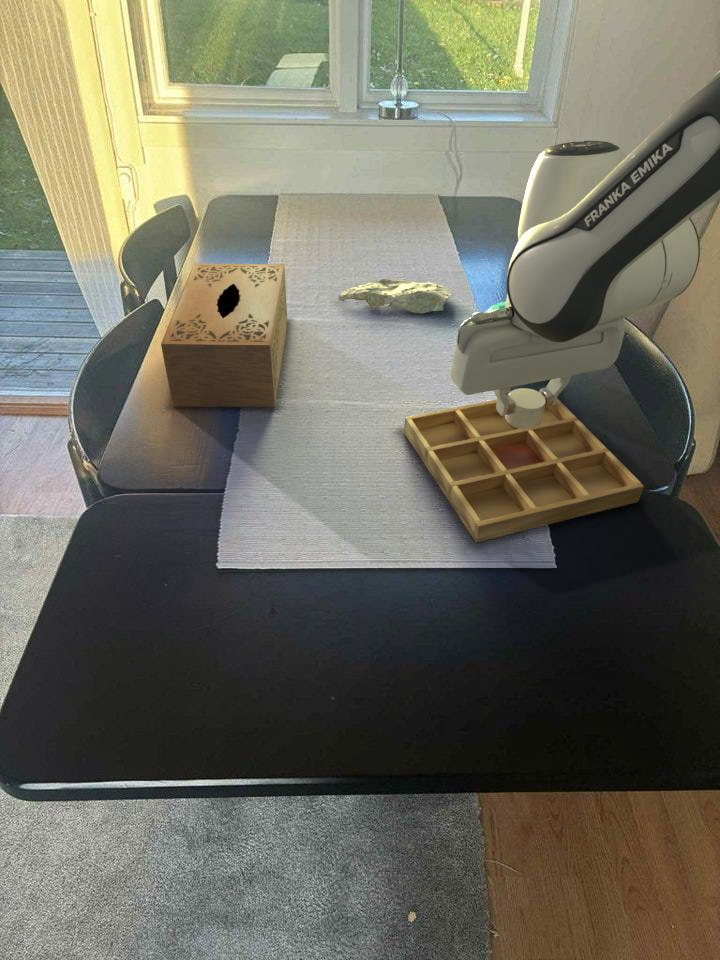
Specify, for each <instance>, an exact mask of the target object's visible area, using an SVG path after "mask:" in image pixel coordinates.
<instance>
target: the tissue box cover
mask: <svg viewBox="0 0 720 960" xmlns="http://www.w3.org/2000/svg"><path fill="white" fill-rule="evenodd" d="M286 287H287V286H286V268H285V264H284V263H225V262H224V263H222V262H221V263H220V262H219V263H218V262H217V263H216V262H215V263H214V262H211V263H210V262H194V263H193V265H192V267H191V269H190V272H189V274H188V277H187V280H186V282H185V284H184V287H183V289H182V292H181V294H180V297H179V299H178V301H177V303H176V306H175V308H174V311H173V314H172V316H171V318H170V321H169V324H168V326H167V328H166V331H165V333H164V336H163V338H162V341H161V343H160V347H161V352H162V357H163V362H164V367H165V373H166V378H167V382H168V389H169V395H170V399H171V404H172V407H175V408H176V407H177V408H180V407H182V408H185V407H186V408H187V407H188V408H192V407H193V408H276V405H277V398H278V397H277V396H278V391H279V390H278V389H279V382H280V377H281V369H282V362H283V355H284V348H285V341H286V336H287V335H286V334H287V328H288V303H287V288H286Z"/></svg>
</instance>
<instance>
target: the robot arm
mask: <svg viewBox="0 0 720 960" xmlns="http://www.w3.org/2000/svg"><path fill="white" fill-rule="evenodd" d="M527 181H528V182H527V185H526V188H525V192H524V197H523V200H522V206H521V209H520V210H521V211H520V216H519V221H518V229H517V239H518V241H517V244H516V245H515V248H514V250H513V252H512V255H511V258H510V261H509V265H508V269H507V274H506V293H507V295H506V299H505V301H506V306H505V308H503V309H497V310H493V311H490V312H486V311H478V312H474V313H473V314H471V317H468V318H467V319H466V320H464V321H463V322H462V323H461V324H460V325H459V327H458V330H457V336H456V345H455V348H454V351H453V357H452V361H451V365H450V371H449V376H450V378H451V380H452V382H453V383H454V385H455V386H456V387H457V388H458V389H459V391H461V392H462V393H463V394H464V395H467V396H471V395H475V394H481V393H487V392H492V391H493V393H494V395H495V396H496V400H497V404H496V409H497V411H498V413H499V414H500V415H501V416H504V415H509V414H513V413H514V410H513V409H514V408H515V404H516V403H515V402H514V400H512V399H511V397H510V396H509V394H510V392H511V390H512V388H513V387H519V386H524V385H529V384H533V383H539V382H544V381H549V382H548V383H547V385H546V386H545V387H542V388H540V389H539V391H540V393H541V394H542V395H543V396H544V397H545V399H546V403H545V407H548V406H554V405H556V402H557V399H558V397H559V395H560V394H561V393H562V392H563V390H564V389H565V388H566V387H567V386H568V385H569V383H570V382H571V379H572V376H577V375H582V374H587V373H592V372H599V371H603V370H607V369H609V368H610V367H612V366H613V364H614V363H615V362H617V359H618V357H619V355H620V353H621V352H620V351H621V348H622V345H623V341H624V337H625V331H626V324H625V323H626V322H625V321H624V319H626V318H628V317H630V316H633V315H635V314H637V313H640V312H642V311H646V310H649V309H651V308H654V307H656V306H658V305H662V304H664V303H667V302H668V301H671V300H672V299H675V298H677V297H678V296H680V295H681V294H683V293H684V292H685V291H686V290H687V289H688V287H689V286H690V285H691V283H692V281H693V280H694V277H695V276H696V273H697V270H698V267H699V263H700V256H701V244H700V243H701V242H700V237H699V233H698V230H697V227H696V225H695V223H694V221H693V220H692V217H693V216H694V215H696V214H698V212H701V210H703V209H705V207H707V206H709V205H711V204H712V203H714V202H715V201H717V200H718V199H720V70H719V71H718V72H716V74H715V75H714V76H712V77H711V78H710V79H709V80H708V81H707V82H706V83H705V84H703V86H702V87H701V88H700V89H698V90H697V91H696V92H695V93H694V94H693V95H692V96H690V97H689V98H688V99H687V100H686V101H685V102H684V103H682V104H681V105H680V106H679V107H678V108H677V109H676V110H674V111H673V112H672V113H671V114H670V115H669V116H668V117H667V118H666V119H665V120H664V121H663V122H661V124H660V125H659V126H657V127H656V128H655V129H654V130H653V131H652V132H651V133H649V135H648V136H647V137H646V138H645V139H643V141H642V142H641V143H639V145H637V147H636V148H634V149H633V150H632V151H631V152H630V153H629V154H628V155H627V156H626V155H625V152H624V150H623V149H622V148H621V147H619V146H618V145H616V144H614V143H612V142H608V141H603V140H583V141H570V142H563V143H559V144H554V145H552V146H549V147H547V148H546V149H544V150H543V151H542V152H541V153H540V154H539V155H538V157H537V159H536V160H535V162H534V165H533V166H532V168H531V171H530V175H529V178H528V180H527Z"/></svg>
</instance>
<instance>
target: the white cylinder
mask: <svg viewBox="0 0 720 960" xmlns="http://www.w3.org/2000/svg"><path fill="white" fill-rule="evenodd" d="M508 395H509V396H510V397H511V399H512V400H514V402H515V403H516V404H515V408H514V409H513V410H514V413H513V414H509V415H505V419H506V421H507V422H508V423H509V424H510V425H512V426H514V427H516V428H520V429H533V428H536V427H538V426H539V425H540V424H541V421H542V416H543V412H544V408H545V403H546V399H545V397H544V396H543V395H542V394H541V393H540V392H538V390H536V389H532V388H525V387H523V388H516V389H513V390H512V391H510V393H508Z"/></svg>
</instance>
